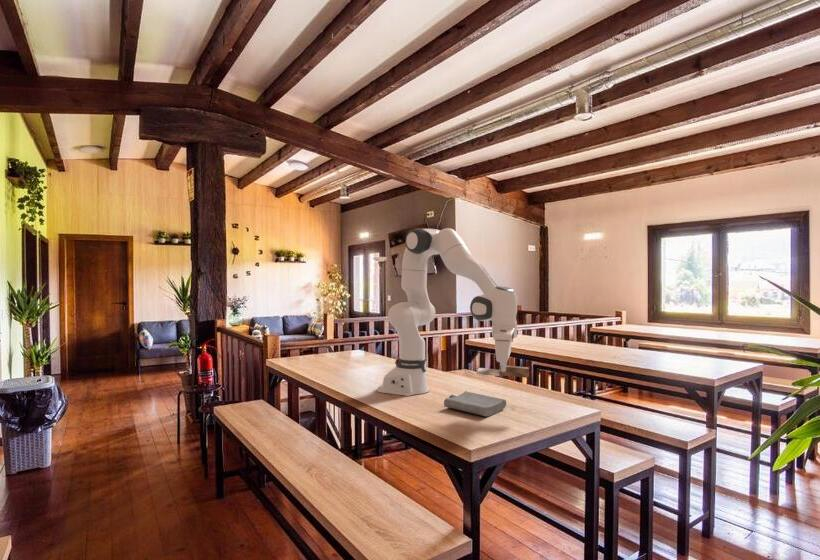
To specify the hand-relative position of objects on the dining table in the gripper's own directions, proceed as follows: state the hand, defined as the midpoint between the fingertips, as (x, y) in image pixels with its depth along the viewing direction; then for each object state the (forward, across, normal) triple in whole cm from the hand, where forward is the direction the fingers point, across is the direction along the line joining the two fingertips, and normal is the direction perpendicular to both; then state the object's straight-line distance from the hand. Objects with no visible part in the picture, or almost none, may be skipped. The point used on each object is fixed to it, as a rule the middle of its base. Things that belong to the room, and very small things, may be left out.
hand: (503, 370), depth 165 cm
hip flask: (+14, 0, -3) cm, 15 cm away
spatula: (+2, 0, 0) cm, 2 cm away
